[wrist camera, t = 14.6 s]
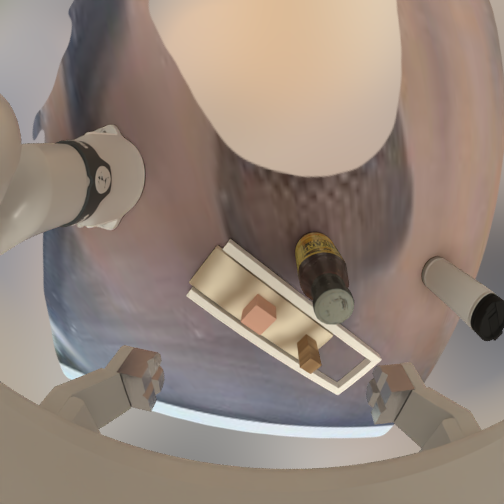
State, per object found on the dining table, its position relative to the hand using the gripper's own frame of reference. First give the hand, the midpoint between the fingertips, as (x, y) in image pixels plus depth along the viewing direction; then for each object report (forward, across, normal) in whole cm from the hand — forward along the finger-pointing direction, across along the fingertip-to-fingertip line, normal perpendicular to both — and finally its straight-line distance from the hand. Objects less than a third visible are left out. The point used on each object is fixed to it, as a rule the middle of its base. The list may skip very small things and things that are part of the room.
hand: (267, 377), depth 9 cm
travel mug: (+35, -32, +8) cm, 48 cm away
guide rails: (+35, -5, +20) cm, 41 cm away
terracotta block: (+34, +1, +16) cm, 37 cm away
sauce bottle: (+35, -7, +5) cm, 36 cm away
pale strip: (+35, 0, +16) cm, 39 cm away
